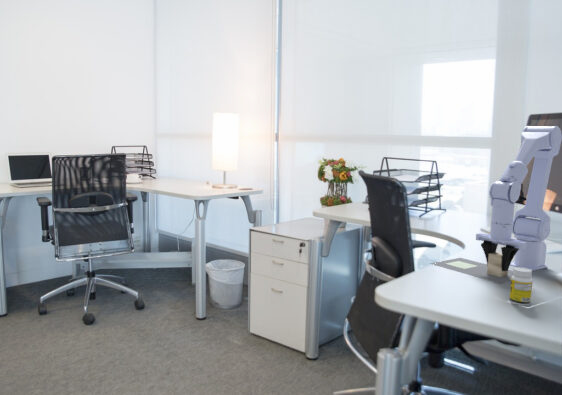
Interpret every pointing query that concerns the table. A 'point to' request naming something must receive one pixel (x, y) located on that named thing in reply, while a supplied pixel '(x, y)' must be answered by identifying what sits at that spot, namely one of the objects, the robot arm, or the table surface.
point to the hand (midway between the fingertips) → (497, 268)
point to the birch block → (495, 265)
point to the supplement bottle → (521, 286)
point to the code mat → (473, 269)
